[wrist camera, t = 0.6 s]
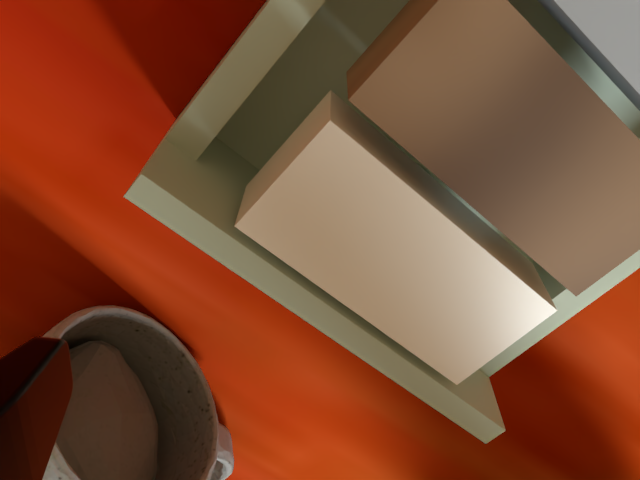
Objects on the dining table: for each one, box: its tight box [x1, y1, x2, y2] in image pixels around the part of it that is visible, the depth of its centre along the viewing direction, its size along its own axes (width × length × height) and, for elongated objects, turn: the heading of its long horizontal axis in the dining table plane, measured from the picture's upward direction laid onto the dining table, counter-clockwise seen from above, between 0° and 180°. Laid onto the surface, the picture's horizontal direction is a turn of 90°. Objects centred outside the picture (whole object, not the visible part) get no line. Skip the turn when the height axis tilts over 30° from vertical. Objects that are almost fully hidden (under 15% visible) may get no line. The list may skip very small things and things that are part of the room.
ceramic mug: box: [42, 305, 234, 480], centre depth 22 cm, size 11×8×8 cm
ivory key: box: [234, 90, 558, 385], centre depth 16 cm, size 8×4×2 cm, turn 49°
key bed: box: [124, 0, 640, 444], centre depth 16 cm, size 13×14×6 cm
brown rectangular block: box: [346, 0, 640, 296], centre depth 15 cm, size 8×4×2 cm, turn 49°
